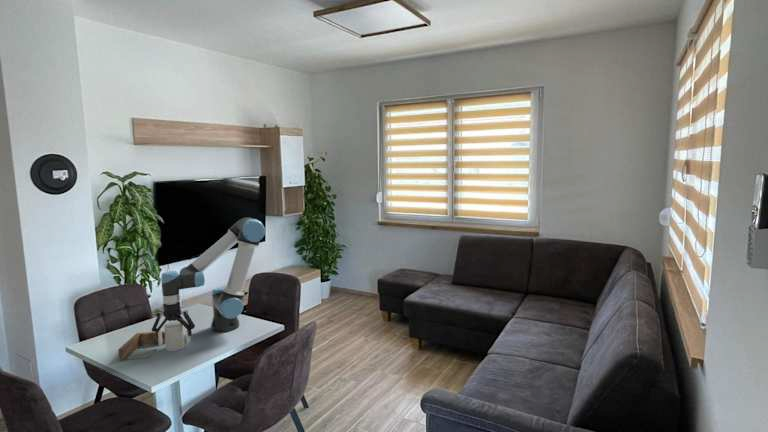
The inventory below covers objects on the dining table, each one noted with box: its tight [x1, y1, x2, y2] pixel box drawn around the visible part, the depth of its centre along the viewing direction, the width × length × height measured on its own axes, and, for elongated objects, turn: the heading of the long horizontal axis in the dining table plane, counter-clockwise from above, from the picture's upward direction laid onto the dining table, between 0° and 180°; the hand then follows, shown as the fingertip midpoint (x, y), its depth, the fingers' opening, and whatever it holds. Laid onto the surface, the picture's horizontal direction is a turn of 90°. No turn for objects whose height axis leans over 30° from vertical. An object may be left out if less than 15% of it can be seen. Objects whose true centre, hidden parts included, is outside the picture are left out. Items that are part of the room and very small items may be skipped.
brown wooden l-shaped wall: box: [117, 330, 166, 362], centre depth 210 cm, size 14×20×6 cm
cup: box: [163, 321, 185, 352], centre depth 213 cm, size 8×8×12 cm
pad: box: [126, 348, 158, 360], centre depth 207 cm, size 10×10×1 cm
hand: (174, 343), depth 214 cm, fingers open, 13 cm apart
